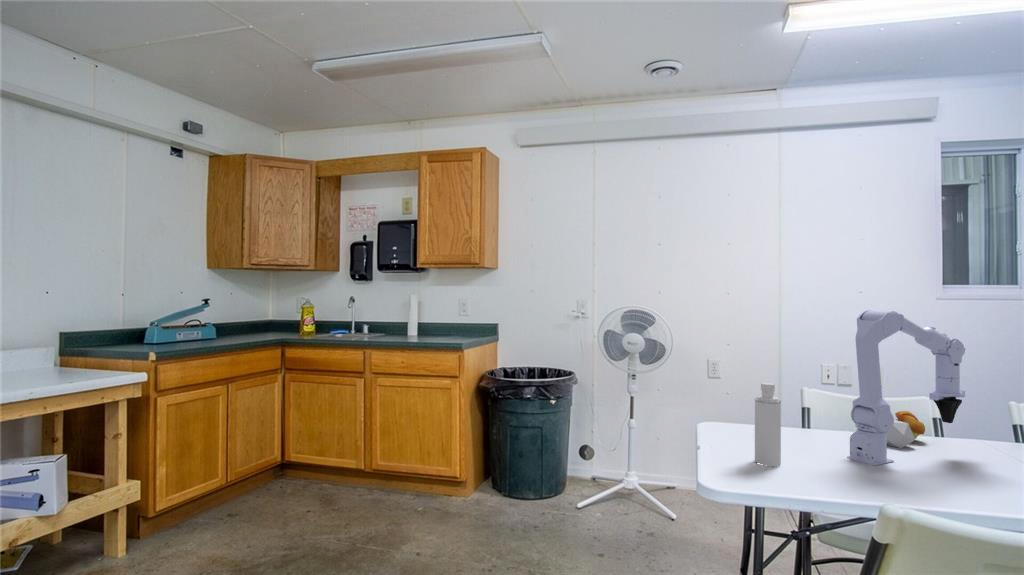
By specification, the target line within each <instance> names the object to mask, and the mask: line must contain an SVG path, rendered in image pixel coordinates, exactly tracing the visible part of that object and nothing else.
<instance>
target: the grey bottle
mask: <svg viewBox="0 0 1024 575" xmlns="http://www.w3.org/2000/svg"><path fill="white" fill-rule="evenodd" d="M775 386H776V385H775V383H771V382H761V383H760V391H761V395H759V396H757V397H756V398H754V463H755V462H757V463H760V464H763V465H767V466H779V467H781V466H780V465H781V464H782V461H781V460H782V451H781V450H782V438H781V437H782V434H781V433H782V424H781V423H782V419H781V418H782V412H781V411H782V408H781V407H782V406H781V405H782V403H781V402H782V401H781V400H780V399H779V398H778V397H776V396H774V395H775V390H776V388H775ZM757 463H756V464H757ZM767 466H766V467H767Z"/></svg>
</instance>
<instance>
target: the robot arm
mask: <svg viewBox="0 0 1024 575" xmlns="http://www.w3.org/2000/svg"><path fill="white" fill-rule="evenodd" d="M856 326H857V330H856V334H855V349H856V362H857V374H858V388H859V397H857V398H856V399H854V400H853V401H852V408H851V410H850V411H851V412H850V418H851V421H852V422H853V423H854V424H855V427H856V428H857V429H856V431H854V432H852V433H853V434H852V435H851V434H850V437H849V455H847V456H846V458H847V459H850V460H854V461H856V462H860V463H863V464H866V465H870V466H878V465H884V464H889V463H895V461H894V459H892V458H888V456H887V454H888V446H887V432H889V430H890V429H891V428H892V426H893V424H894V420H895V418H894V415H893V413H892V411H891V406H890V404H889V403H888V402H887V401H886V400H885V399H884V397H883V392H882V391H883V389H882V379H881V378H882V377H881V363H880V352H879V351H880V350H879V344H880V343H881V342H882V341H883V340H885V339H887V338H889V337H891V336H893V335H894V334H896V333H898V332H902V333H905V334H906V335H909V336H910V337H913V338H914V340H915V343H917V344H918V345H920V346H921V347H924V348H926V349H928V350H930V352H931V353H932V355H933V356H935V389H934V391H932V392H929V397H928V398H929V400H932V401H933V402H934V403H935V405H936V406H937V409H938V411H939V415H940V418H941V421H942V422H943V423H947V424H952V423H953V422H954V419H955V416H956V413H957V411H958V409H959V407H960V405H961V404H962V402H963V401H962V399H960V398H966V390H961V386H960V385H961V384H960V382H961V375H960V373H961V370H960V369H961V367H960V366H961V363H962V361H963V356H964V355H965V353H966V348H965V346H964V344H963V342H962V341H961V340H959V338H958V339H957V338H950V337H949V336H948V334H946V333H941V332H939V331H937V330H936V327H933V326H925V327H921V326H920V325H918V324H916V323H914V322H913V321H911V320H909V319H908V318H907V317H905V316H904V314H902V313H898V312H897V311H894V310H893V311H891V310H890V311H885V310H883V311H882V310H880V311H879V310H878V311H877V310H869V309H867V310H864V311H862V312H861V314H859V315H858V316H857V318H856ZM958 398H959V399H958Z"/></svg>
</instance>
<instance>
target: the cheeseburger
mask: <svg viewBox="0 0 1024 575" xmlns="http://www.w3.org/2000/svg"><path fill="white" fill-rule="evenodd" d="M894 415H895V417H896V419H895V420H897V421H901V422H905V423H908V424H909V426H910V429H911V431H912V433H913V436H914V438H915V440H916V439H917V438H918V437H919V436H920V435H924V434H925V431H926V425H925V424H924V423H923V422H921V421H919V419H918V418H917V417H916V415H914V414H913V413H912V412H910V411H908V410H900V411H897V412H895V414H894Z"/></svg>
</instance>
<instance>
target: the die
mask: <svg viewBox="0 0 1024 575" xmlns="http://www.w3.org/2000/svg"><path fill="white" fill-rule="evenodd" d="M897 420H898V419H897ZM897 420H896V419H894V424H893V426H892V428H891V429H890V430H889V432H887V445H888V446H891V447H895V448H897V447H898V448H899V449H903V448H904V447H906V446H909V444H911V443H912V442H914V441H915V440H916V439H915V438H914V436H913V433H912V431H911V429H910V426H909V424H908V423H905V422H901V421H897Z"/></svg>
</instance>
